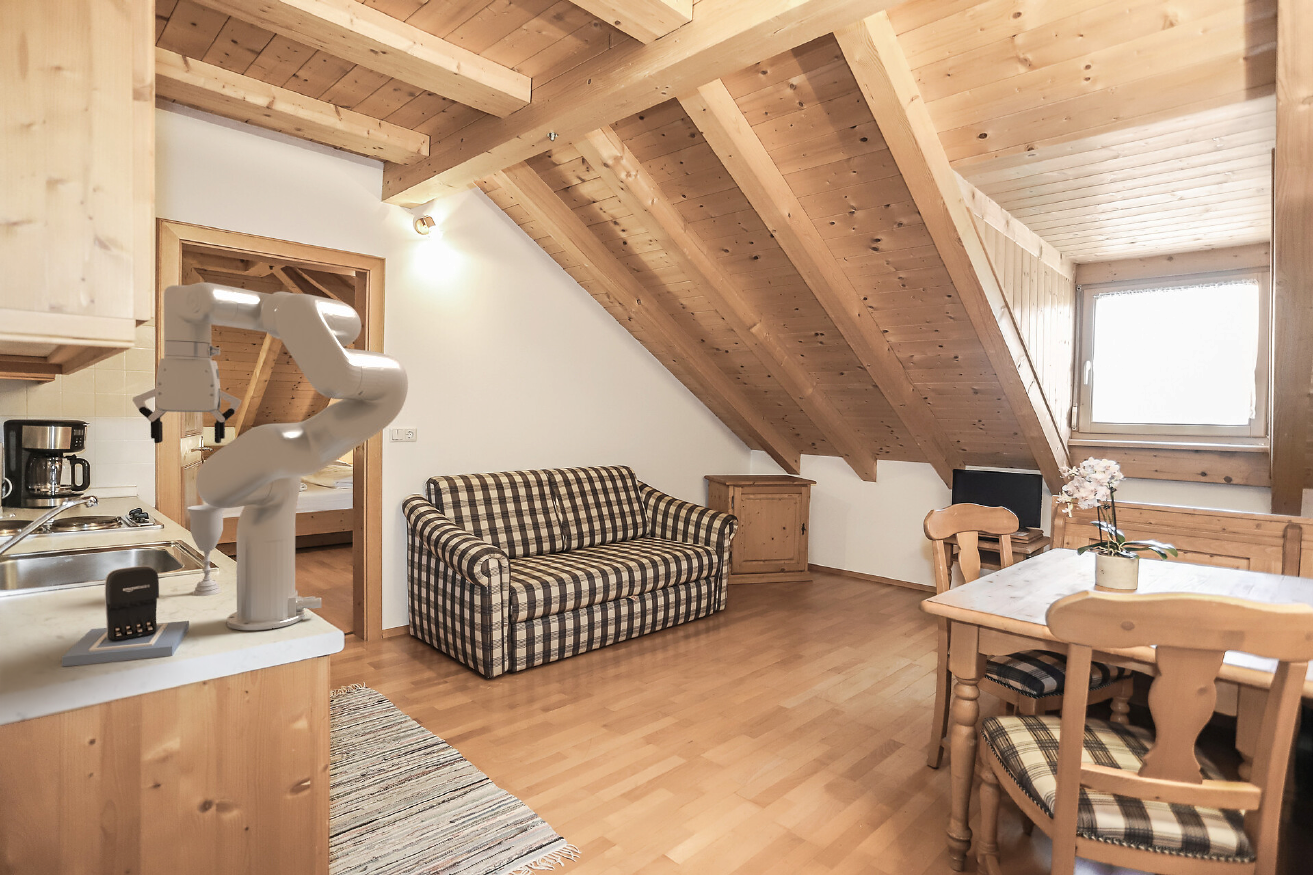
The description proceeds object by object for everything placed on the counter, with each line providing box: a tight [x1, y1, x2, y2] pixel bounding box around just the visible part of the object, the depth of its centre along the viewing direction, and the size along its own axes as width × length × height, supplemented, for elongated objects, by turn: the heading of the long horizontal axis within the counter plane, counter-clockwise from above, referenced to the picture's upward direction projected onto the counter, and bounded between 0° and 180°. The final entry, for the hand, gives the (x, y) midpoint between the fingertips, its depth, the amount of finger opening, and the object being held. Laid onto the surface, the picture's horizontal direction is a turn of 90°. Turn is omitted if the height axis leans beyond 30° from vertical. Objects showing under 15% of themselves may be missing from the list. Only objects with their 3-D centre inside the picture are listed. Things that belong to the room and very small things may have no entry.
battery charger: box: [104, 565, 160, 641], centre depth 117 cm, size 7×4×11 cm, turn 139°
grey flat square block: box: [61, 620, 190, 667], centre depth 117 cm, size 14×14×2 cm
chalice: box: [187, 504, 226, 597], centre depth 150 cm, size 7×7×18 cm
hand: (188, 442), depth 136 cm, fingers open, 9 cm apart
